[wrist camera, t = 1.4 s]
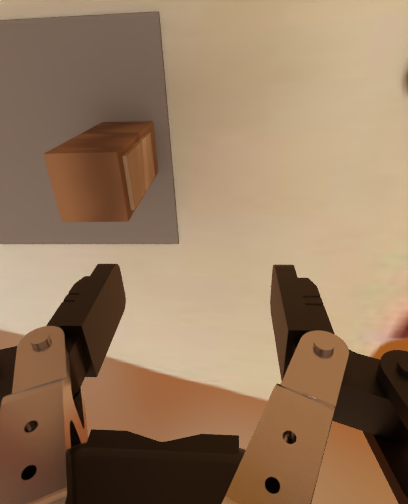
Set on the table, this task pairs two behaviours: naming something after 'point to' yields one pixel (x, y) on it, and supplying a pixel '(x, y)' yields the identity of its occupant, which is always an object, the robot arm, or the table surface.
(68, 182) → the walnut block
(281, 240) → the table surface
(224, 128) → the table surface
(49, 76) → the slate mat
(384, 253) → the table surface
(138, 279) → the table surface
